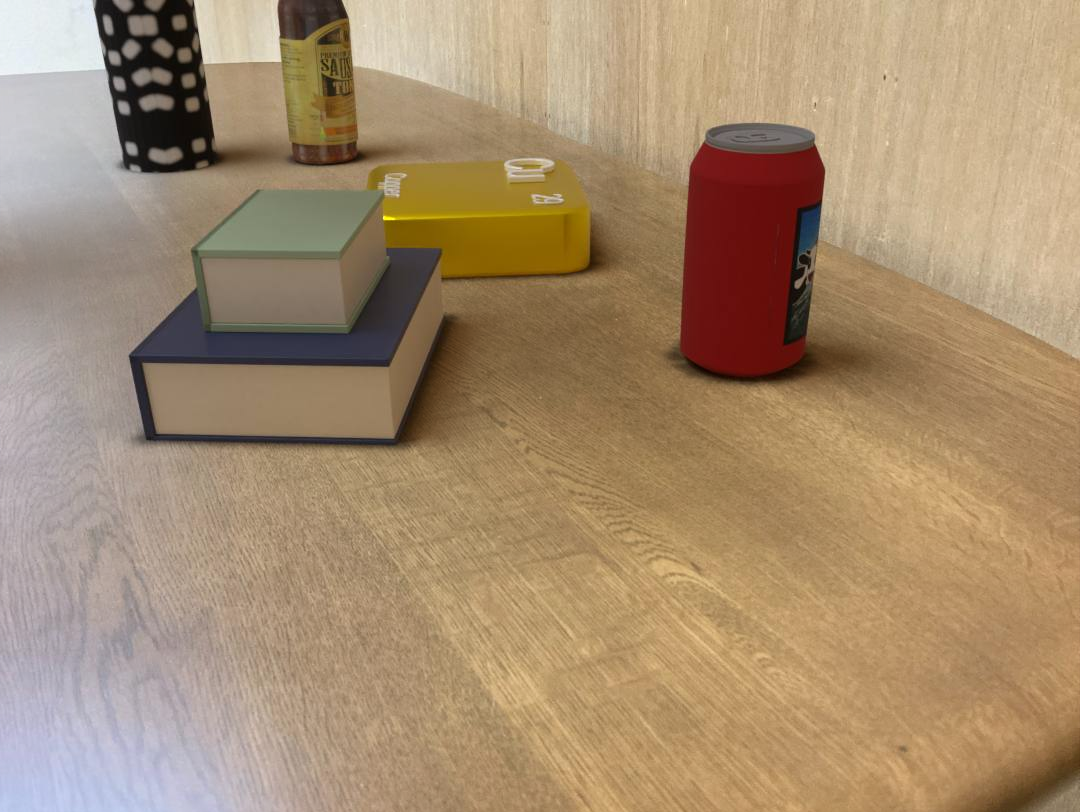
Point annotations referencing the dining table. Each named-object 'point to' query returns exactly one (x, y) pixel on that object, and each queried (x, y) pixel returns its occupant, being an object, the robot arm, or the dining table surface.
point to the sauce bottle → (318, 80)
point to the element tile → (488, 215)
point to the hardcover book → (292, 262)
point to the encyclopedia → (295, 369)
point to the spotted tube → (157, 84)
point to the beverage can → (750, 248)
